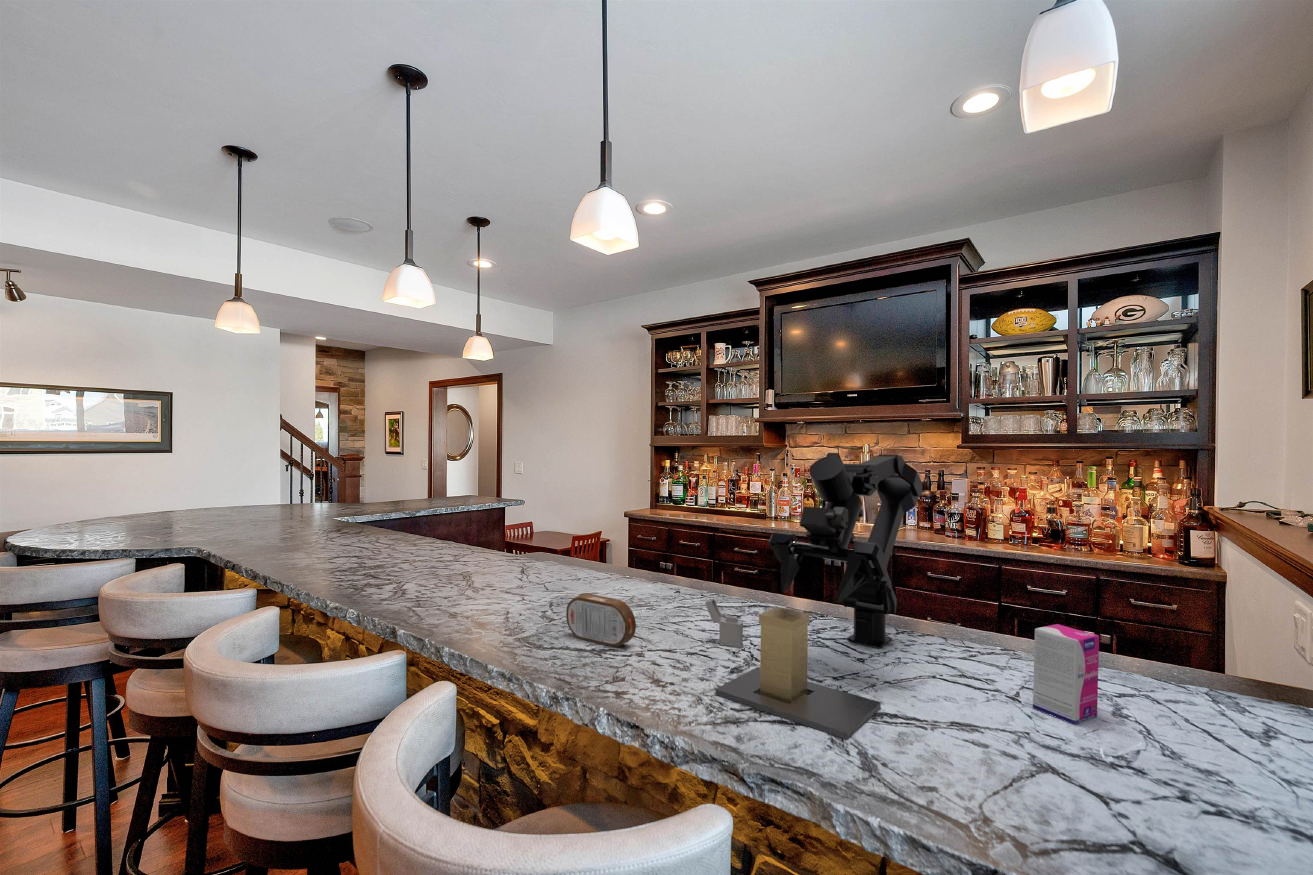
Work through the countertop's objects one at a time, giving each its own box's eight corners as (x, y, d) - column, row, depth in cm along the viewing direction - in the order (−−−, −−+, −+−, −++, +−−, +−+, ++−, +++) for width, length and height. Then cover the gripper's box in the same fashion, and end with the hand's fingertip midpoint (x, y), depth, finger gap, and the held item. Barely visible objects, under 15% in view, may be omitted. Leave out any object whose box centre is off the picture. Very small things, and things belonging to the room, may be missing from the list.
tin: (636, 647, 107) (637, 601, 107) (626, 652, 104) (627, 604, 104) (573, 632, 115) (574, 589, 115) (563, 636, 112) (563, 592, 113)
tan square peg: (776, 686, 90) (777, 607, 90) (809, 696, 86) (809, 613, 86) (758, 697, 85) (758, 614, 86) (791, 708, 82) (792, 621, 82)
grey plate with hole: (757, 671, 95) (757, 666, 96) (880, 707, 83) (880, 702, 83) (715, 694, 86) (715, 689, 86) (846, 739, 73) (846, 732, 73)
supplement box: (1077, 726, 78) (1076, 639, 78) (1031, 708, 83) (1031, 627, 83) (1100, 717, 80) (1100, 633, 81) (1054, 700, 86) (1054, 622, 86)
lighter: (743, 645, 108) (743, 602, 109) (739, 647, 107) (740, 604, 107) (708, 638, 112) (708, 597, 112) (704, 641, 110) (704, 599, 110)
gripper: (774, 486, 103) (739, 557, 94) (881, 491, 91) (852, 574, 82) (794, 526, 109) (764, 597, 100) (897, 537, 96) (873, 618, 88)
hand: (809, 595), depth 92 cm, fingers open, 9 cm apart
